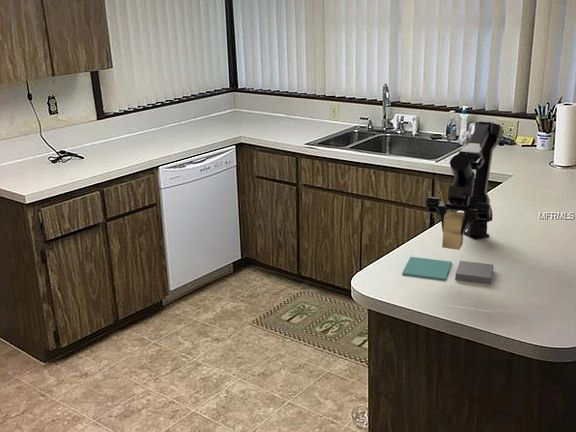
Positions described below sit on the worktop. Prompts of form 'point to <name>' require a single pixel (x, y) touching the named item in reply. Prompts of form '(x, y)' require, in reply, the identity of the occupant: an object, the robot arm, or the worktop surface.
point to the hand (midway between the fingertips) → (452, 233)
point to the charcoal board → (474, 272)
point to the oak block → (453, 230)
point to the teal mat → (427, 268)
